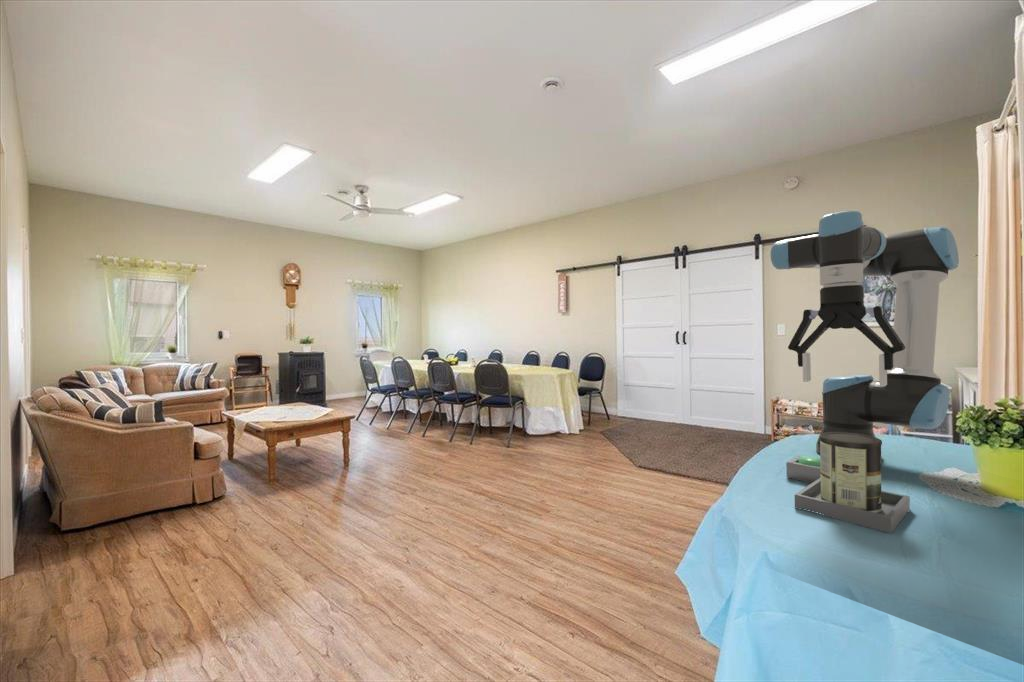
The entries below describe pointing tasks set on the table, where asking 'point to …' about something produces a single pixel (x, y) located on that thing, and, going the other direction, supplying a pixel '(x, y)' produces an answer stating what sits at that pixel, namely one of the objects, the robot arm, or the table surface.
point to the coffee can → (851, 470)
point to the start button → (809, 461)
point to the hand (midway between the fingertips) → (843, 383)
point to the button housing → (802, 471)
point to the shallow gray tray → (883, 521)
